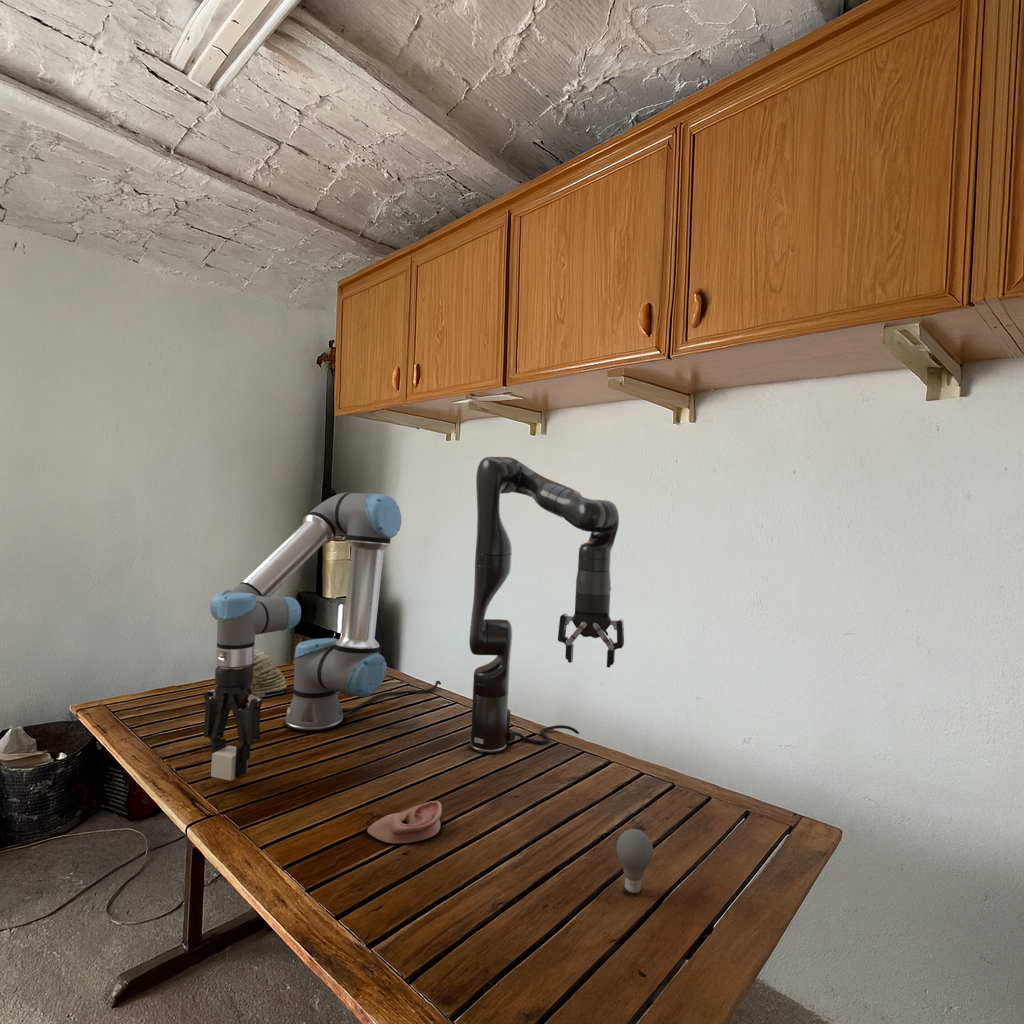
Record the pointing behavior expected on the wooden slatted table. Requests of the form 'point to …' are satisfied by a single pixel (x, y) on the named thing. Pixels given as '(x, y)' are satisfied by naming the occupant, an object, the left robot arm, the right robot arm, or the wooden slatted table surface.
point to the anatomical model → (408, 824)
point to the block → (224, 763)
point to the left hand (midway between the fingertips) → (229, 772)
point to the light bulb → (634, 857)
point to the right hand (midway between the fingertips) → (589, 664)
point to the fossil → (266, 676)
